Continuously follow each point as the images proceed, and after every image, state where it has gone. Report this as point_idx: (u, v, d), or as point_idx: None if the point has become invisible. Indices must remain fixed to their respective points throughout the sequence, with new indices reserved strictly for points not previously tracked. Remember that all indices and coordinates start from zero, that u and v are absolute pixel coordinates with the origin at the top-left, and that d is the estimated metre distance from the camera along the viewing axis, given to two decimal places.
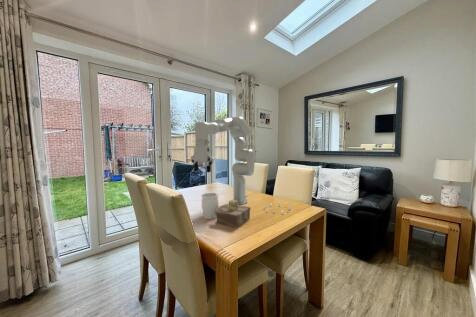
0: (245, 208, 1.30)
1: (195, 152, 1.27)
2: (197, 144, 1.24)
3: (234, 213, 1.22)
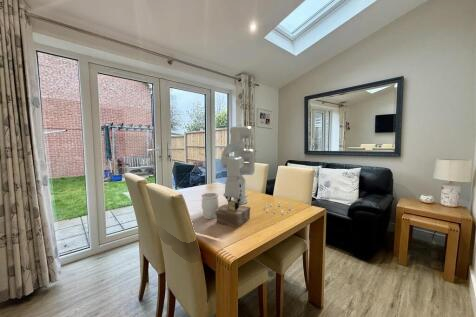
0: (245, 208, 1.30)
1: (226, 187, 1.27)
2: (229, 180, 1.24)
3: (234, 213, 1.22)
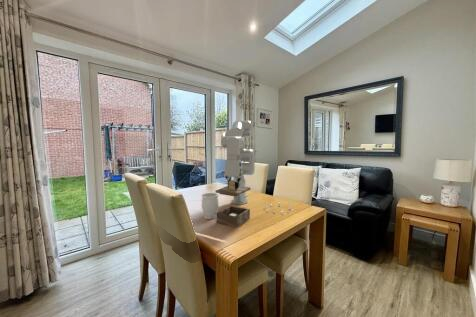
0: (245, 188, 1.29)
1: (226, 167, 1.26)
2: (229, 159, 1.23)
3: (234, 192, 1.21)
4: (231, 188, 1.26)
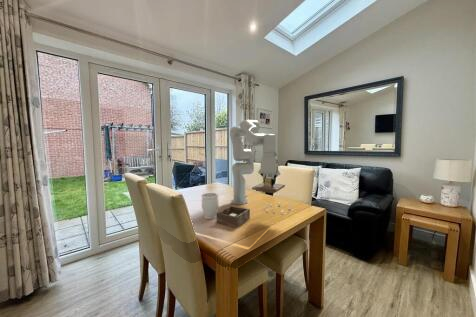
0: (280, 185, 1.30)
1: (262, 164, 1.27)
2: (266, 156, 1.24)
3: (272, 188, 1.22)
4: (267, 185, 1.27)
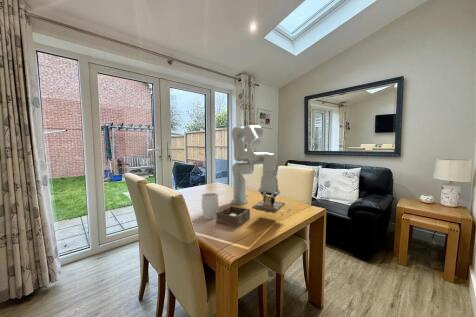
0: (280, 203, 1.31)
1: (262, 183, 1.28)
2: (266, 175, 1.25)
3: (272, 208, 1.23)
4: (267, 204, 1.28)
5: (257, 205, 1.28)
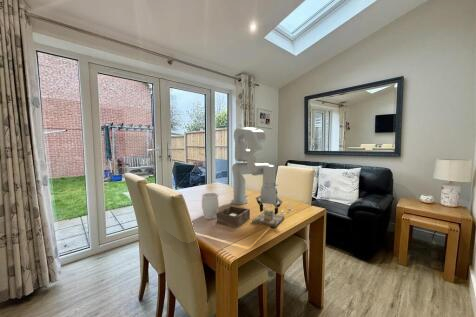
0: (280, 217, 1.32)
1: (262, 194, 1.29)
2: (266, 187, 1.26)
3: (271, 223, 1.24)
4: (267, 218, 1.29)
5: (257, 219, 1.29)
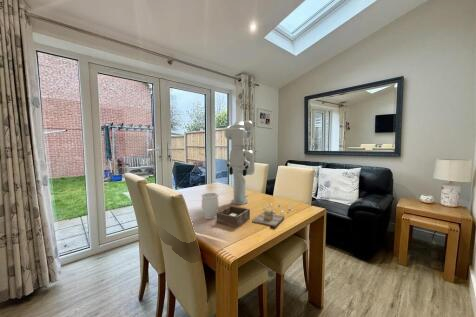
0: (280, 217, 1.32)
1: (231, 157, 1.33)
2: (234, 149, 1.29)
3: (271, 223, 1.24)
4: (267, 218, 1.29)
5: (257, 219, 1.30)
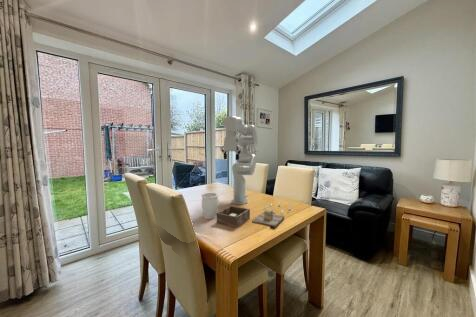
0: (280, 217, 1.32)
1: (225, 142, 1.45)
2: (227, 135, 1.42)
3: (271, 223, 1.24)
4: (267, 218, 1.29)
5: (257, 219, 1.30)
